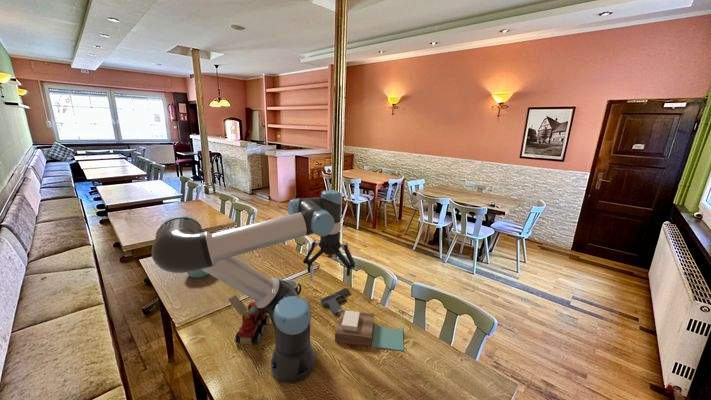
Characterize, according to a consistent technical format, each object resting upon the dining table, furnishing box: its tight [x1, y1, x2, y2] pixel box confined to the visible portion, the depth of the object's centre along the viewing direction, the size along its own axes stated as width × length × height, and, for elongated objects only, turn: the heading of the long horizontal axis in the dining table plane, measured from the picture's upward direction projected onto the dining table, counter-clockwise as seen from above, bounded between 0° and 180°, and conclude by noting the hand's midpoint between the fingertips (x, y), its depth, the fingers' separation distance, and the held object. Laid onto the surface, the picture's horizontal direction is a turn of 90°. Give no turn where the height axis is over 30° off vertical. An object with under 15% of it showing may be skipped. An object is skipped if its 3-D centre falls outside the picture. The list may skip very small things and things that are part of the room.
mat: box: [371, 324, 405, 352], centre depth 114 cm, size 12×12×1 cm
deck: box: [334, 309, 375, 348], centre depth 116 cm, size 14×14×4 cm
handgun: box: [319, 287, 351, 317], centre depth 135 cm, size 3×18×12 cm
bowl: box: [186, 270, 209, 279], centre depth 153 cm, size 16×16×8 cm
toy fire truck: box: [227, 294, 270, 345], centre depth 112 cm, size 11×16×18 cm
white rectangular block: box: [341, 310, 360, 331], centre depth 116 cm, size 9×6×2 cm, turn 172°
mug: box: [285, 279, 302, 296], centre depth 132 cm, size 12×9×10 cm
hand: (328, 280), depth 114 cm, fingers open, 13 cm apart
